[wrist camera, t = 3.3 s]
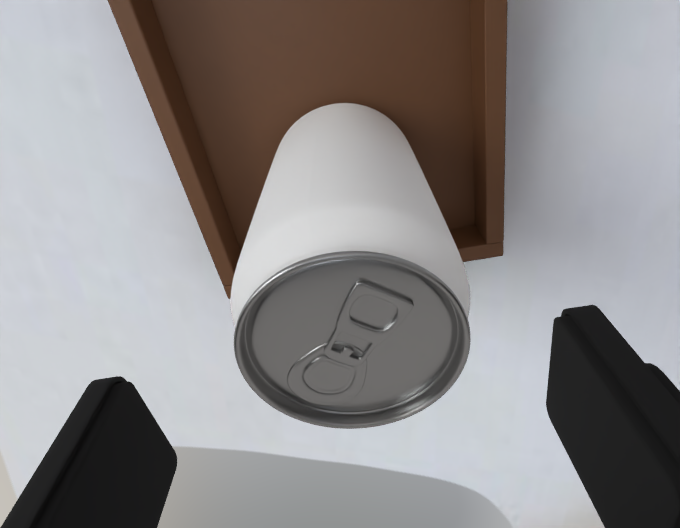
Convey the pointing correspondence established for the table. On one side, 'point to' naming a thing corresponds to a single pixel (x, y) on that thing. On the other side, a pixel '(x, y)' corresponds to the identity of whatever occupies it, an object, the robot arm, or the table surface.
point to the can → (349, 278)
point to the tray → (324, 97)
